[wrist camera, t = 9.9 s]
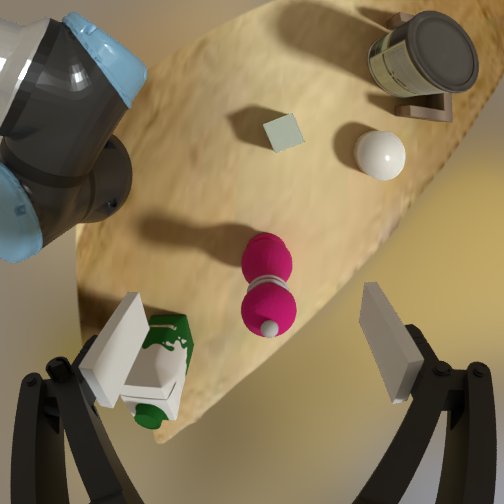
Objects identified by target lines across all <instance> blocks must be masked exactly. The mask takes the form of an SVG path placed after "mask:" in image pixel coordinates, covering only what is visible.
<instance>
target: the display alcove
mask: <svg viewBox="0 0 504 504" xmlns="http://www.w3.org/2000/svg"><path fill="white" fill-rule="evenodd" d="M413 17H414V15H410V14H406V13H402V12H399V13H398V14H396V15H395V16H393V17H392V18H391V19H389V20H388V21H387V26H388V29H389V30H394V29H396V28H398V27H399V26H401V25H402V24H404V23H406V22H407V21H409V20H410V19H412V18H413ZM427 105H428V108H425V107H418V106H412V105H408V106H396V107H395V110H396V116H399V117H408V118H416V119H423V120H430V121H438V122H452V96H451V93H449V92H448V93H437V94H428V95H427Z"/></svg>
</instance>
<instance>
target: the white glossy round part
mask: <svg viewBox="0 0 504 504" xmlns="http://www.w3.org/2000/svg"><path fill="white" fill-rule="evenodd" d="M405 158H406V156H405V149H404V146H403V144H402V142H401V141H400V140H399V138H398V137H396V136H395V135H394V134H392V133H390V132H386V131H368V132H366V133H364V134H362V135H361V136H360V137H359V138H358V140H357V141H356V143H355V146H354V159H355V162H356V164H357V166H358V167H359V169H360V170H361V171H362V172H364V173H365V174H367V175H369V176H371V177H373V178H375V179H378V180H390V179H392V178H394V177H396V176H397V175H398V174H399V173H400V172H401V170H402V169H403V167H404V164H405Z"/></svg>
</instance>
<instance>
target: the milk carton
mask: <svg viewBox="0 0 504 504" xmlns="http://www.w3.org/2000/svg"><path fill="white" fill-rule="evenodd" d="M148 325H149V331H148V333H147V335H146V337H145V340H144V342H143V344H142V346H141V348H140V350H139V352H138V354H137V357H136V359H135V361H134V363H133V365H132V367H131V370H130V372H129V374H128V376H127V378H126V381H125V383H124V385H123V387H122V390H121V392H120V396H121V398H122V400H123V401H124V402H125V404H126V406H127V407H128V409H129V410H130V412H131V414H132V415H133V416H135V417H134V418H135V421H136V422H137V423H138V424H139V425H141V426H143V427H145V428H148V429H158V428H160V426H161V422H162V420H177V415H178V409H179V404H180V398H181V393H182V390H183V386H184V382H185V378H186V374H187V371H188V367H189V363H190V359H191V356H192V351H193V346H194V343H193V339H192V336H191V332H190V328H189V324H188V321H187V317H186V315H164V316H151V317H150V319H149V322H148Z"/></svg>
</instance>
